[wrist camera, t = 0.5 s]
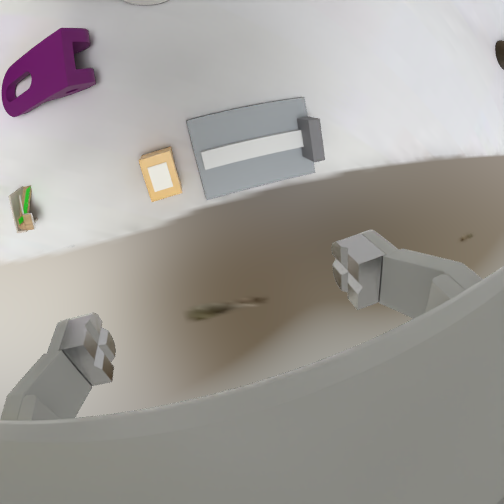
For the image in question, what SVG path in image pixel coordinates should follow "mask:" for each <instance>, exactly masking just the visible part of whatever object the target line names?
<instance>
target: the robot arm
mask: <svg viewBox="0 0 504 504" xmlns="http://www.w3.org/2000/svg"><path fill="white" fill-rule="evenodd" d="M123 1H125V2H127V3H130V4H135V5H154V4H159V3H162V2H165V1H168V0H123ZM332 254H333V255H334V257H335V258H336V260H335V262H334V263H333V274H334V277H335V280H336V283H337V285H338V286H339V288H340V289H341V290H342V291H345V292H348V299H349V300H350V301H351V303H352V304H353V305H354V306H355V308H356V309H357V310H358V309H361V308H364V307H367V306H370V305H372V304H375V303H377V302H379V303H380V304H383V305H385V306H387V307H389V308H391V309H394V310H396V311H398V312H400V313H402V314H405V315H407V316H409V317H411V318H413V319H412V320H410V321H408V322H406V323H404V324H402V325H400V326H398V327H396V328H394V329H392V330H390V331H388V332H385V333H383V334H381V335H379V336H377V337H375V338H373V339H370V340H368V341H366V342H363V343H361V344H359V345H357V346H354V347H352V348H349V349H347V350H344V351H342V352H339V353H337V354H334V355H332V356H329V357H327V358H324V359H322V360H319V361H316V362H314V363H311V364H308V365H305V366H303V367H300V368H297V369H294V370H291V371H288V372H285V373H283V374H279V375H276V376H273V377H270V378H267V379H264V380H261V381H257V382H254V383H251V384H247V385H244V386H240V387H237V388H234V389H230V390H226V391H222V392H219V393H215V394H211V395H207V396H203V397H199V398H195V399H190V400H186V401H181V402H177V403H172V404H167V405H162V406H157V407H152V408H146V409H140V410H134V411H128V412H121V413H114V414H107V415H99V416H90V417H80V418H75V417H76V415H77V413H78V411H79V409H80V408H81V406H82V404H83V403H84V401H85V399H86V397H87V396H88V394H89V392H90V390H91V389H92V386H94V385H99V384H104V383H109V382H112V380H113V379H112V378H113V370H114V367H113V365H112V364H111V362H112V360H113V359H114V357H115V353H116V349H115V343H114V340H113V338H112V336H111V334H110V333H109V331H108V330H106V329H104V328H102V320H101V319H100V318H99V316H98V314H96V313H90V314H86V315H82V316H78V317H74V318H71V319H66V320H63V321H60V322H59V323H58V324H57V326H56V329H55V332H54V335H53V337H52V340H51V343H50V346H49V349H48V352H47V353H46V354H43V355H42V357H41V358H40V359H39V360H38V361H37V362H36V363H35V364H34V366H33V367H32V368H31V369H30V370H29V371H28V372H27V373H26V374H25V376H24V377H23V378H22V379H21V380H20V381H19V382H18V384H17V385H16V386H15V387H14V388H13V390H12V391H11V392H10V393H9V394H8V396H7V398H6V402H5V405H4V409H3V412H2V416H1V420H0V504H504V266H503V267H501V268H500V269H499V270H497V271H495V272H494V273H492V274H491V275H489V276H488V277H486V278H485V279H482V278H481V277H479V276H478V275H477V274H476V273H475V272H473V271H472V270H471V269H470V268H468V267H467V266H466V265H464V264H463V263H461V262H457V261H453V260H448V259H444V258H440V257H436V256H432V255H428V254H423V253H419V252H415V251H411V250H406V249H400V250H398V249H397V248H396V247H395V246H394V245H392V244H391V243H390V242H388V241H387V240H386V239H385V238H383V237H382V236H381V235H379V234H378V233H377V232H375V231H374V230H368V231H365V232H362V233H360V234H358V235H354V236H351V237H349V238H345V239H343V240H340V241H337V242H334V243H333V244H332Z"/></svg>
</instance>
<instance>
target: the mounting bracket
mask: <svg viewBox="0 0 504 504" xmlns="http://www.w3.org/2000/svg"><path fill="white" fill-rule="evenodd" d="M89 46H90V40H89V31H88V30H87V29H83V28H60V29H59V30H57V31H56V32H54V33H53V34H51V35H50V36H48V37H47V38H46V39H44V40H43V41H42V42H40V43H39V44H37V45H36V46H35V47H34V48H32V49H31V50H30V51H28V52H27V53H26V54H25V55H23V56H22V57H21V58H20V59H19V60H17V61H16V62H15V63H14V64H13V65H11V66H10V68H9V69H8V70H7V72H6V74H5V77H4V80H3V84H2V102H3V105H4V108H5V110H6V112H7V113H8V114H9V115H10V116H12V117H16V116H19V115H22V114H25V113H28V112H29V111H31V110H33V109H34V108H36V107H38V106H39V105H41V104H43V103H45V102H47V101H50V100H54V99H58V98H62V97H65V96H68V95H71V94H74V93H76V92H79V91H82V90H84V89H87V88H89V87H91V86H93V85H95V84H96V82H95V76H94V69H92V68H86V69H76V67H75V60H74V54H76V53H79V52H81V51H83V50H85V49H86V48H88V47H89ZM29 74H31V77H32V82H31V86H30V88H29V89H28V90H27V91H25V92H24V93H23V94H21V95H20V96H18V97H17V98H16V96H15V87H16V85H17V83H18V82H20V81H21V80H22V79H24V78H25V77H26V76H28V75H29Z"/></svg>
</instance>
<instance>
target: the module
mask: <svg viewBox="0 0 504 504" xmlns="http://www.w3.org/2000/svg"><path fill="white" fill-rule="evenodd" d="M139 164H140V167H141V170H142V173H143V177H144V180H145V183H146V186H147V189H148V192H149V195H150V198H151V201H152V202H154V201H157V200H160V199H164V198H167V197H170V196H173V195H177V194H180V193H182V185H181V182H180V178H179V177H178V173H177V170H176V166H175V162H174V159H173V153H172V149H171V147H167V148H164V149H161V150H157V151H154V152H151V153H148V154H145V155H142V156H141V158H140V159H139Z"/></svg>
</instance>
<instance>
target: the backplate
mask: <svg viewBox="0 0 504 504" xmlns="http://www.w3.org/2000/svg"><path fill="white" fill-rule="evenodd" d="M187 125H188V129H189V133H190V137H191V141H192V145H193V149H194V153H195V157H196V161H197V165H198V169H199V173H200V176H201V180H202V184H203V188H204V191H205V195H206V199H207V200H209V199H213V198H216V197H220V196H224V195H227V194H231V193H235V192H238V191H242V190H246V189H250V188H254V187H258V186H261V185H265V184H269V183H273V182H277V181H282V180H286V179H290V178H294V177H298V176H303V175H307V174H311V173H315V168H314V162H317V161H322V160H325V157H324V148H323V140H322V133H321V125H320V119H318V118H313V117H307V111H306V105H305V99H304V97H300V98H293V99H286V100H280V101H274V102H268V103H262V104H257V105H251V106H246V107H241V108H237V109H232V110H227V111H223V112H219V113H214V114H210V115H206V116H202V117H198V118H194V119H191V120H187Z"/></svg>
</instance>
